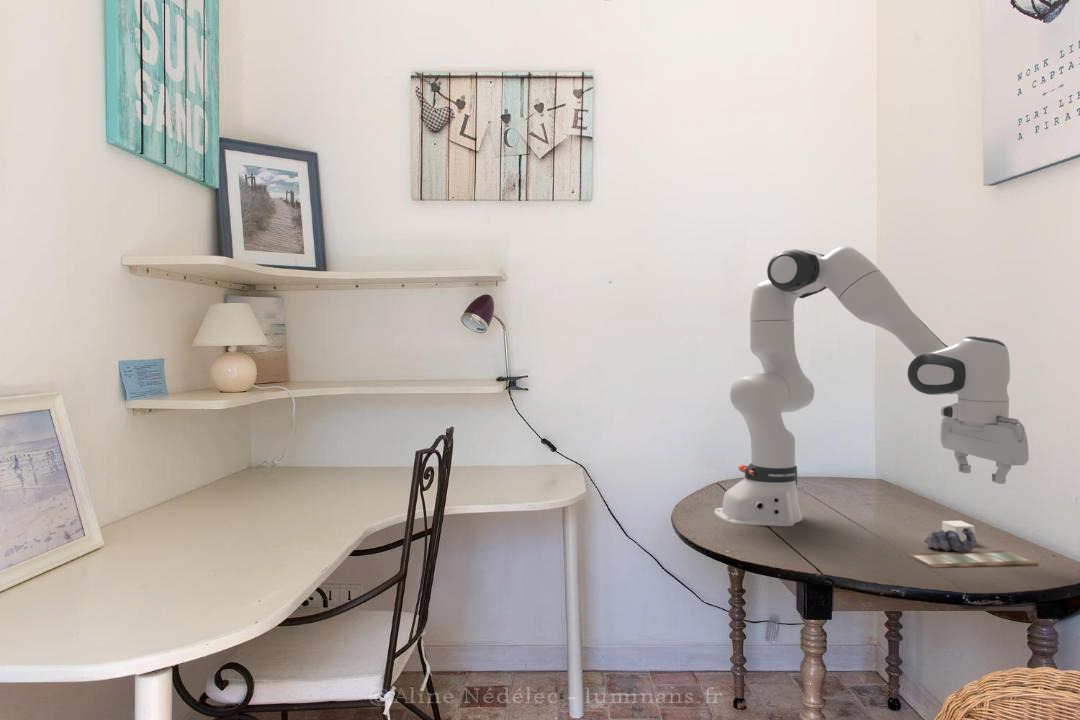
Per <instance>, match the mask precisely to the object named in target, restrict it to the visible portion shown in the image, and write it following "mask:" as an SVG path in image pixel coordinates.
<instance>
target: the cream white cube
mask: <svg viewBox="0 0 1080 720" xmlns="http://www.w3.org/2000/svg"><path fill="white" fill-rule="evenodd" d="M963 528H970V529H971V531H972V532H973V533H974V535H975V533H976V532H975V525H973V524H971V523H967V522H966V521H964V520H963V521H962V520H941V530H944V531H945V532H946V531H948V530H952V531H955V532H956V533H957V534H958V536H959V537H960V540H961V541H962V542H963V541H964V540H965V539H966V535H965V534H964V533H962V530H963ZM975 536H976V535H975Z"/></svg>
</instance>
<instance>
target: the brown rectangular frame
mask: <svg viewBox="0 0 1080 720" xmlns="http://www.w3.org/2000/svg"><path fill="white" fill-rule="evenodd" d="M905 555H906V556H907V557H909V558H911V559H913V560H915V561H917V562H919V563H921V564H923V565H925V566H926V567H929V568H930V569H942V568H943V569H944V568H945V569H946V568H948V569H949V568H953V567H954V568H987V567H988V568H989V567H990V568H991V567H1025V566H1026V567H1028V566H1032V567H1033V566H1037V567H1038V566H1039V563H1038V562H1036V561H1034V560H1032V559H1029V558H1028V557H1024V556H1022V555H1019V554H1017V553H1015V552H1012V551H1010V550H1007V549H1004V550H1003V549H1002V550H1001V549H1000V550H977V551H976V550H975V551H973V550H971V551H968V552H957V551H943V552H921V553H916V552H915V553H906V554H905ZM954 568H953V569H954Z"/></svg>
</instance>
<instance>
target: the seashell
mask: <svg viewBox="0 0 1080 720" xmlns="http://www.w3.org/2000/svg"><path fill="white" fill-rule="evenodd" d="M962 533H964V534H965V535H966V539H965V540H964V541H963V542H962V541H961V540H960V537H959V536H958V534H957V533H956V532H955V531H952V530H948V531H946V532H945V531H944V530H942V529H938V530H937V529H936V530H932V532H930V533H928V535H927V537H926V538H925V539H924V540H923V542H924V543H926V544H927V546H928V548H929V549H932V548H933V549H934V550H940V549H941V550H943V551H944V552H950V551H951V550H953V552H971V551H973V549H974V548H975V547H976V545H977V539H976V535H974V533H973V532H972V531H971V529H970V528H963V530H962Z"/></svg>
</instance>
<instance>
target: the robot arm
mask: <svg viewBox="0 0 1080 720" xmlns="http://www.w3.org/2000/svg"><path fill="white" fill-rule="evenodd" d="M766 273H767V277H768V279H767V280H763V281H761V282H759V283H758V284H756V285H755V286H754V289H753V291H752V296H751V302H750V312H749V337H750V339H749V341H750V342H749V343H750V351H751V352H752V354H753V355H754V356H756V358H758V359H759V361H760V363H761V365H762V368H763V372H762V373H761V372H759V373H751V374H748V375H745V376H741V377H739V378H737V379H735V381H734V382H733V383H732V385H731V388H730V393H729V396H730V401H731V404H732V405H733V407H734V408H735V410H737V411H738V412H739V413H740V414H741V415H742V417H743V419H744V420H745V423H746V425H747V428H748V432H749V437H750V449H751V452H750V453H751V462H750V464H749V465H746V464H742V463H740V464H739V465H738V467H737V469H738V470H739V472H742V473H744V478H742V479H741V480H740V481H739V482H737V483H735V485H732V487H730V488H729V489H727V490H726V491H725V493H724V495H723V498H722V507H717V508H715V509H714V515H715V516H716V517H717V518H719V519H720V520H721V521H723V522H725V523H729V524H731V525H740V526H741V525H744V526H745V525H747V526H748V525H749V526H770V527H771V526H776V527H793V526H794V525H795V524H797V523H799V522H801V521H803V516H802V513H801V509H800V505H799V500H798V499H799V498H798V493H797V486H798V466H797V465H796V438H795V436H794V434H793V433H792V432H791V431H790V430H788V429H787V428H786V426H785V424H784V420H783V416H782V414H783V413H793V412H797V411H799V410H801V409H804V408H806V407H808V406H810V404H811V403H812V402H813V400H814V396H815V387H814V384H813V382H812V381H811V379H810V378H809V377H807V375H806V374H805V373H804V371H803V370H802V367H801V364H800V363H799V359H798V356H797V352H796V347H795V323H794V322H795V313H794V308H795V303H796V301H797V300H798V299H805V298H807V297H810V296H813V295H816V294H818V293H821V292H823V291H825V290H826V289H828V290H829V291H831V292H832V294H833V295H834V297H836V298H837V300H838V302H840V304H841V305H842V306H843V307H844V308H845V309H846V310H847V311H848V312H849V313H851V314H852V315H853V316H854V317H856V318H857V320H859V321H861V322H865V323H867V324H871V325H873V326H877V327H879V328H881V329H884V330H886V331H888V332H889V333H892V334H893V335H894V336H895V337H896V339H898V340H899V341H900V342H901V343H902V344H903V345H904V346H905V347H906V348H907V349H908V351H909V352H910V353H911V354H913V356H914V357H915V358H914V359H913V360H912V361H911V362H910V364H909V366H908V369H907V379H908V381H909V383H910V385H911V387H913V388H914V389H915V390H916V391H917V392H919V393H922V394H925V395H929V396H939V395H942V396H943V395H947V394H948V395H954V394H957V402H955V403H953V404H948V405H946V406H942V407H941V408H940V416H941V417H943V418H942V419H941V422H940V435H939V436H940V443H941V445H942V447H943V448H944V449H945V450H951V451H954V452H953V453H954V458H955V460H956V462H957V465H958V467H957V469H958V472H959V473H963V474H970V473H971V472H972V470H971V468H972V465H970V464H969V461H968V460H967V459H968V458H967V457H968V456H969V455H970V456H974V457H977V458H982V459H985V460H989V461H991V462H995V467H997V469H996V471H995V473H991V481H992V482H993V483H995V484H999V485H1004V484H1006V483H1007V482H1006V481H1007V479H1006V477H1007V475H1008V473H1010V470H1011V469H1012V466H1025V465H1027V463H1028V461H1029V454H1030V453H1029V443H1028V436H1027V433H1026V431H1025V430H1026V428H1025V426H1024V424H1023V423H1021V422H1020V420H1019V419H1017V418H1011V417H1010V397H1009V395H1008V385H1009V383H1010V378H1011V364H1010V363H1011V362H1010V355H1009V353H1010V352H1009V350H1008V347H1007V346H1006V345H1005V344H1004V342H1002V341H1000V340H997V339H994V338H988V337H981V336H965V337H963V338H962V339H961V340H960V341H957V342H956V343H953V344H951V345H946V344H945V342H943V341H942V340H941V339H940V338H939V337H938V336H937V335H936V334H935V333H934V332H933V331H932V330H931V329H930V328H929V327H928V326H927V325H926V324H925V323H924V322H923V321H922V320H921V319H920V318H919V317H918V316H917V315H916V314H915V313H914V311H912V309H911V308H910V306H909V305H908V304H907V303H906V302H905V300H904V299H903V297H902V296H901V295H900V294H899V292H898V291H897V289H896V288H895V287H894V285H893V284H892V283H891V282H890V281H889V279H888V278H887V277H886V275H884V273H883V272H882V271H881V270H880V268H878V266H876V264H874V263H873V262H872V261H871V260H870V259H869V258H867V257H866V256H865V255H864V254H863V253H861V252H860V251H858V250H857V249H856V248H854V247H852V246H848V245H846V246H840V247H837V248H835V249H834V248H833V250H831V251H830V252H828V253H827V254H826V255H824V254H823V253H818V252H815V251H812V250H807V249H804V250H800V249H797V248H794V249H793V248H790V249H784V250H782V251H780V252H778V253H776V254H775V255H773V256H772V258H771V259H770V261H769V262H768V265H767V269H766Z"/></svg>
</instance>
